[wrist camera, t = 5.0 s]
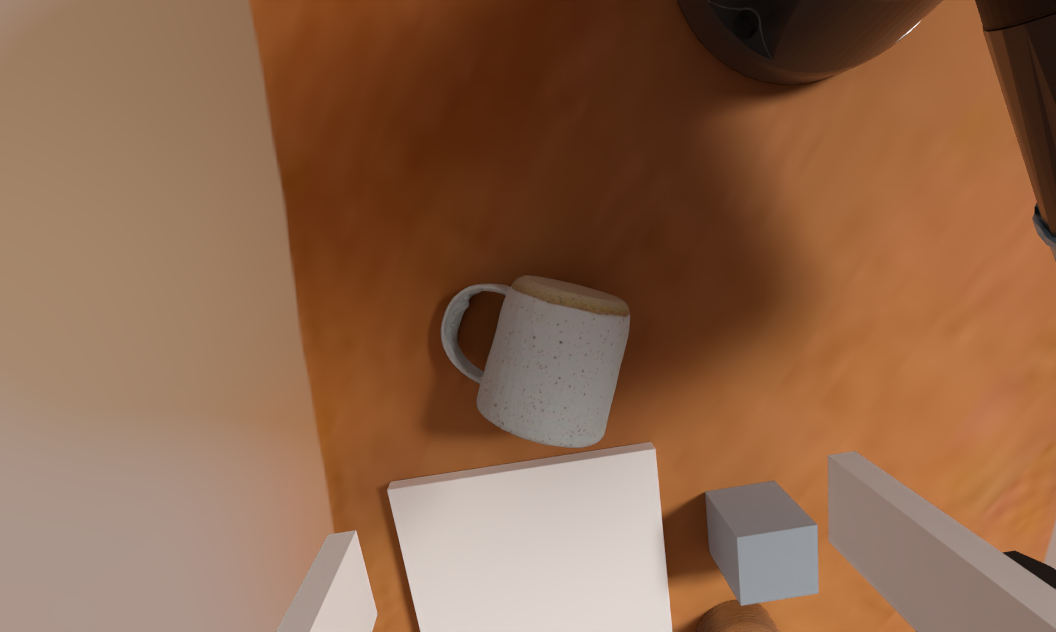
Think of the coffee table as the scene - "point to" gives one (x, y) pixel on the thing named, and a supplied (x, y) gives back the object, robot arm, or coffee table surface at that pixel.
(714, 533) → the slate block
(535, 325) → the ceramic mug
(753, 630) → the metal tin
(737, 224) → the coffee table surface
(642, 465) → the white thin square slab
